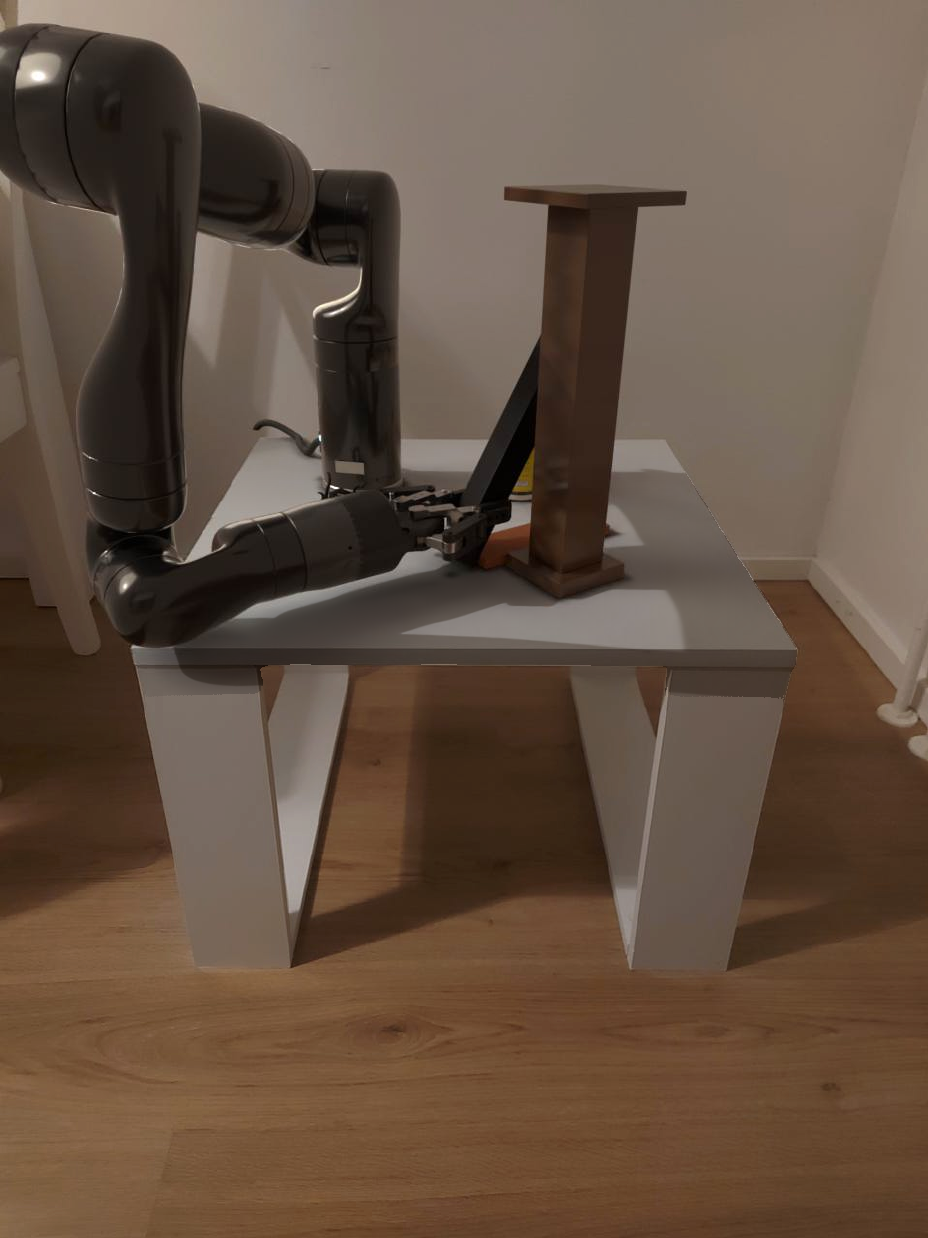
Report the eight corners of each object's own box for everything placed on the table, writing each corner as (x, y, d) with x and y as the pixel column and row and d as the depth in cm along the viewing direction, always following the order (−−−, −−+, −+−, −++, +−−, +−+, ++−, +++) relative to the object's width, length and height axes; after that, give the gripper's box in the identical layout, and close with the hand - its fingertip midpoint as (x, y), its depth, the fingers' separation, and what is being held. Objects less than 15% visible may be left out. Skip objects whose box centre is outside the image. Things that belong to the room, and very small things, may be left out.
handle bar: (435, 548, 84) (452, 559, 82) (549, 315, 80) (569, 320, 78) (457, 556, 86) (474, 568, 84) (569, 330, 82) (590, 335, 80)
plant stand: (491, 565, 84) (503, 185, 68) (570, 542, 89) (599, 184, 73) (557, 606, 77) (588, 193, 61) (638, 579, 82) (687, 190, 66)
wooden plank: (457, 550, 87) (457, 541, 87) (578, 518, 95) (578, 509, 95) (486, 569, 83) (486, 560, 83) (609, 533, 91) (610, 524, 91)
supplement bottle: (538, 503, 99) (543, 418, 94) (491, 499, 99) (494, 415, 95) (544, 487, 103) (549, 405, 98) (499, 483, 104) (502, 402, 99)
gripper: (375, 528, 69) (545, 487, 77) (298, 476, 79) (456, 445, 87) (378, 612, 72) (540, 563, 81) (305, 551, 82) (455, 514, 91)
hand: (495, 502), depth 84 cm, fingers open, 3 cm apart
